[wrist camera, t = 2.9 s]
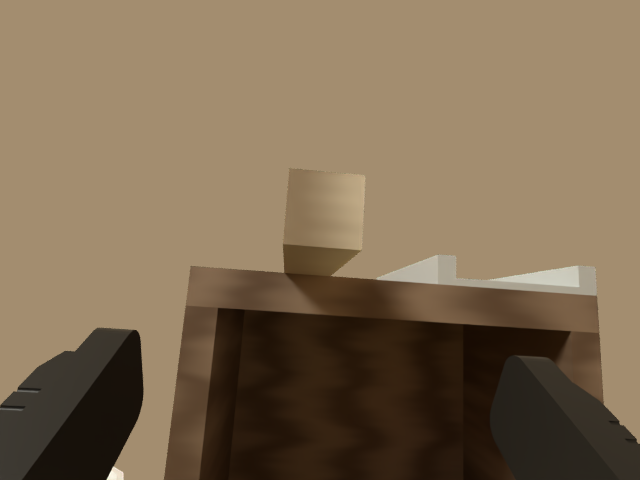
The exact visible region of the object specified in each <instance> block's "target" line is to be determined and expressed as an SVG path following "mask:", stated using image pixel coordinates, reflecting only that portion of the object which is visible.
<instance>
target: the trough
mask: <svg viewBox="0 0 640 480" xmlns="http://www.w3.org/2000/svg"><path fill="white" fill-rule="evenodd" d="M377 280H388V281H401V282H415V283H429V284H442V285H456V286H470V287H483V288H497V289H511V290H524V291H538V292H552V293H565V294H579V295H593V296H597V288H596V271H595V267H589V266H573V267H567V268H561V269H554V270H548V271H541V272H535V273H529V274H523V275H516V276H510V277H504V278H498V279H491V280H474V279H462V278H456V256H449V255H436V256H433V257H431V258H428V259H425V260H423V261H420V262H418V263H415V264H412V265H410V266H407V267H404V268H402V269H399V270H396V271H394V272H391V273H388V274H386V275H383V276H381V277H378V278H377Z"/></svg>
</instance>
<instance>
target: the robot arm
mask: <svg viewBox="0 0 640 480" xmlns="http://www.w3.org/2000/svg"><path fill="white" fill-rule="evenodd" d="M141 358H142V357H141V341H140V335H139V333H138V332H137V330H126V329H111V328H97V329H95V330H94V331H93V332H92V333H91V334H90V335H89V337H88V338H87V339H86V340H85V341H84V342H83V343H82V344H81V345H80V347H79V348H78V349H77V350H76V351H75V352H72V351H64V352H63V353H61V354H59V355H57V356H56V357H54V358H52V359H51V360H49V361H47V362H46V363H44V364H42V365H41V366H39V367H37V368H36V369H35V370H34V371H33V373H31V375H30V376H29V377H28V378H27V379H26V380H25V381H24V382H23V383H22V384H21V385H20V386H19V387H18V390H17V392H13V393H12V394H11V395H10V396H9V397H8V398H7V399H6V400H5V401H4V402H3V403H2V404H1V405H0V480H107V478H108V476H109V474H110V472H111V470H112V468H113V466H114V464H115V462H116V460H117V459H118V457H119V455H120V453H121V451H122V449H123V447H124V445H125V443H126V441H127V439H128V437H129V435H130V433H131V431H132V429H133V428H134V425H135V424H136V421H137V419H138V417H139V414H140V410H141V406H142V401H143V374H142V359H141ZM490 428H491V432H492V436H493V438H494V441H495V443H496V445H497V446H498V448H499V450H500V452H501V454H502V456H503V457H504V459H505V461H506V463H507V465H508V467H509V468H510V470H511V472H512V474H513V476H514V477H515V479H516V480H640V444H638V443H637V439H636V438H635V437H634V436H633V435H632V434H631V433H630V432H629V431H628V430H627V429H626V428H625V427H624V426H622V425H620V424H619V420H618V419H617V418H616V417H615V416H614V415H613V414H612V413H611V412H610V411H609V410H608V409H607V408H606V407H605V406H604V405H603V404H602V403H601V402H600V401H599V400H598V399H597V398H595V397H594V396H592V395H591V394H589V393H588V392H586V391H585V390H583V389H582V388H581V387H579V386H578V385H576V384H575V383H572V381H571V380H570V379H569V378H568V377H567V376H566V375H565V374H564V373H563V372H562V371H561V370H560V369H559V367H558V366H557V365H556V364H555V363H554V362H553V361H552V360H550V359H549V358H546V357H531V356H516V355H512V356H510V357H508V359H507V360H506V362H505V364H504V367H503V371H502V374H501V377H500V380H499V384H498V387H497V390H496V394H495V397H494V400H493V403H492V407H491V411H490Z"/></svg>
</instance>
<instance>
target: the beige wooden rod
mask: <svg viewBox="0 0 640 480" xmlns="http://www.w3.org/2000/svg"><path fill="white" fill-rule="evenodd" d="M364 194H365V175H357V174H346V173H335V172H324V171H313V170H302V169H291V168H290V169H289V181H288V191H287V203H286V216H285V227H284V239H283V253H284V273H292V274H305V275H319V276H331V275H332V274H334V273H335V272H336V271H337V270H338V269H339V268H341V267H342V266H343V265H344V264H346V263H347V262H348V261H349V260H351V259H352V258H353V257H354V256H355V255H357V254H358V253H359V252H360V251H362V239H363V217H364V196H365V195H364Z"/></svg>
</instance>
